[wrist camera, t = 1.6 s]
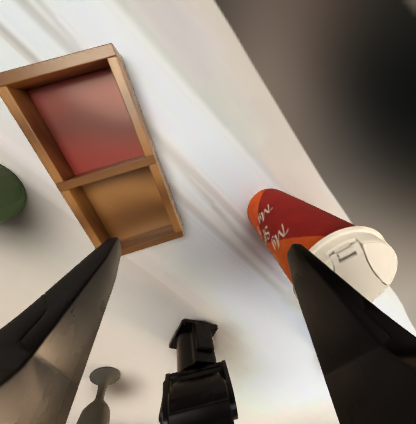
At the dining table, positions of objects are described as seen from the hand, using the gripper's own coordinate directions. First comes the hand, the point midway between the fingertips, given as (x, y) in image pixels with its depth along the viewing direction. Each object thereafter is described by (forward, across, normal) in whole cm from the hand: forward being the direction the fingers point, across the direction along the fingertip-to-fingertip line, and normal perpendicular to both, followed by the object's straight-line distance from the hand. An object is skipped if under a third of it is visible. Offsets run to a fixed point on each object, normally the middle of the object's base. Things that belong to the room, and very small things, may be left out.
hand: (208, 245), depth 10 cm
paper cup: (+14, -10, +8) cm, 18 cm away
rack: (+13, +9, +3) cm, 16 cm away
